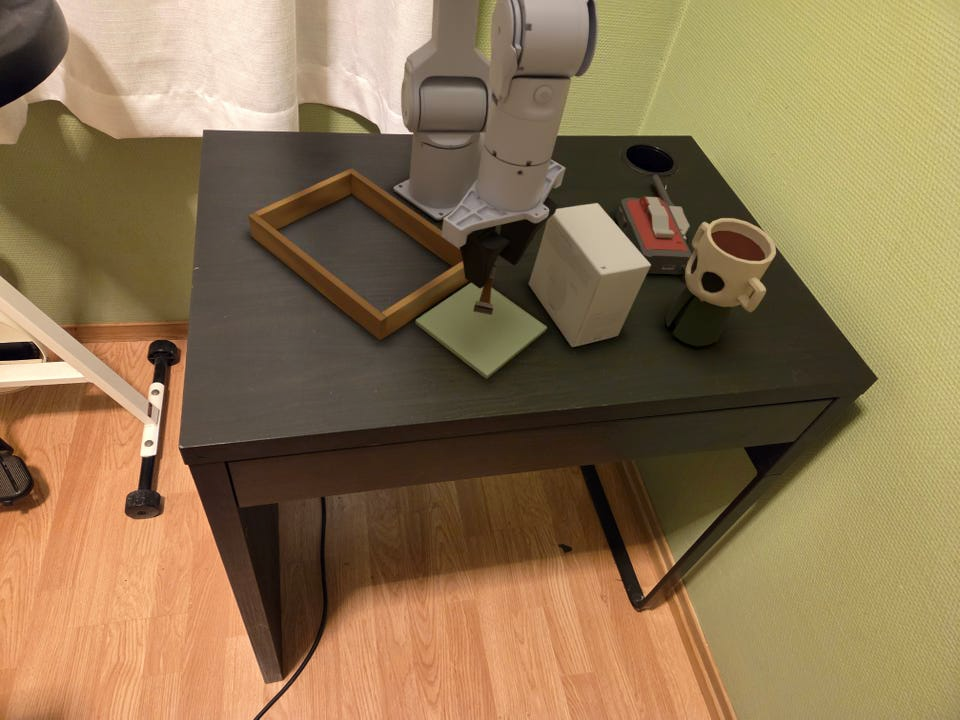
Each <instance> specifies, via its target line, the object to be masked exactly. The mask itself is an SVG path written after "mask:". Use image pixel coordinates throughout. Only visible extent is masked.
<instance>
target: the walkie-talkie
mask: <svg viewBox="0 0 960 720" xmlns="http://www.w3.org/2000/svg"><path fill="white" fill-rule="evenodd" d="M651 181H652V183H653V186H654V187H655V189H656V191H657V194H658V196H659V197H657V196H641V197H634V196H633V197H626V198H623V199H621V201H620V203H619V205H618V209H617V211H616V214H615V219H616V221H617V224H618V227H619V228H620V230H621V231H622V232H623V233H624V234H625V235H626V237H627V238H628V239H629V240H630V241H631V242H632V243H633V245H634V246H635V247H636V248H637V249H638V250H639V252H640V253H641V254H642V255H643V256H644V257H645V258H646V260H647V261H648V262H649V263H650V264H651V266H650V268H649V270H648V273H647V274H649V275H651V274H652V275H653V274H654V275H683V276H685V269H686V266H687V263H688V261H689V259H690V257H691V256H692V254H693V252H691V249H690V248H689V246H688V243H687V236H686V235H687V232H688V231H689V229H690V226H691V225H690V223H689V221H688V219H687V217H686V215H685V212H684V210H683V207H682V206H676V205H675V204H674V202H672V201H671V199H670V196H669V194H668V192H667V190H666V188H665V187H664V184H663V182H662V180H661V178H660V176H659V175H658V174H654V175H652V176H651Z"/></svg>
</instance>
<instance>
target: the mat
mask: <svg viewBox="0 0 960 720" xmlns="http://www.w3.org/2000/svg"><path fill="white" fill-rule="evenodd" d="M482 290H483V287H482V288H478V287H477V286H475V285H474V284H472V283H471V282H470V283H467V284H466V286H465V285H464V287H462V288H460V290H458V291H456V292H455V293H453V294H452V295H451V296H449V297H448V298H446V299H445V300H443V301H442V302H440V303H438V304H437V305H436V306H434V307H433V308H431V309H430V310H428V311H427V312H425V313H424V314H422V315H421V316H420V317H418V318H415V322H414V324H415V325H416V326H417V327H419V329H421V330H423V331H424V332H425V333H426V334H427V335H429V336H430V337H431V338H433V339H434V340H435V341H436V342H438V343H439V344H440V345H442V346H443V347H444V348H446V349H447V350H448V351H449V352H451V353H452V354H454V355H455V357H457V358H458V359H460V360H461V361H462V362H464V363H465V364H466V365H468V366H469V367H470V368H472V370H474V371H475V372H476V373H478V374H479V375H480V376H481V377H483V378H484V379H486V380H487V379H489V378H490V377H492V376H493V374H496V372H498V370H500V369H501V368H503V366H505V365H506V364H507V363H508V362H510V361H511V360H512V359H513V358H514V357H516V356H517V355H518V354H519V353H521V352H522V351H523V350H525V349H526V348H527V347H528V346H529V345H530V344H532V343H533V342H534V341H535V340H537V339H538V338H539V337H540V336H541V335H543V334H544V333H545V332H547V329H548V327H547V325H545V324H544V323H542V322H541V321H539V319H537V318H535V317H534V316H532V315H531V314H530V313H528V312H527V311H525V310H524V309H522V308H521V307H520V306H518V305H517V304H515V302H513V301H511V300H510V299H509V298H508V297H506V296H505V295H503V294H502V293H500V292H499V291H497V290H496V289H494V287H491V304H493V305H494V306H493V308H494V309H493V312H492V315H489V314H484V313H479V312H474V311H473V310H474V305H475V302H476V301H479V299H480V297H481V293H482Z"/></svg>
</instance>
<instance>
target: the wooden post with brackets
mask: <svg viewBox="0 0 960 720" xmlns="http://www.w3.org/2000/svg"><path fill="white" fill-rule="evenodd" d="M497 233H498V234H500V232H497ZM497 260H498V258H497V259H496V261H495V263H494V266H493V268H492V271H491V274H490V277H489V280H488V282H487V283H486V285H484V286H483V290H482V293H481V297H480V299H479V301H476V302H475V305H474V310H473V311H474V312H479V313H484V314H489V315H492V312H493V309H494V308H493V306H494V305H493V304H491V287H492V286H493V283H494V281H495V274H496V271H497V267H498V261H497ZM492 288H493V287H492Z"/></svg>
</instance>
